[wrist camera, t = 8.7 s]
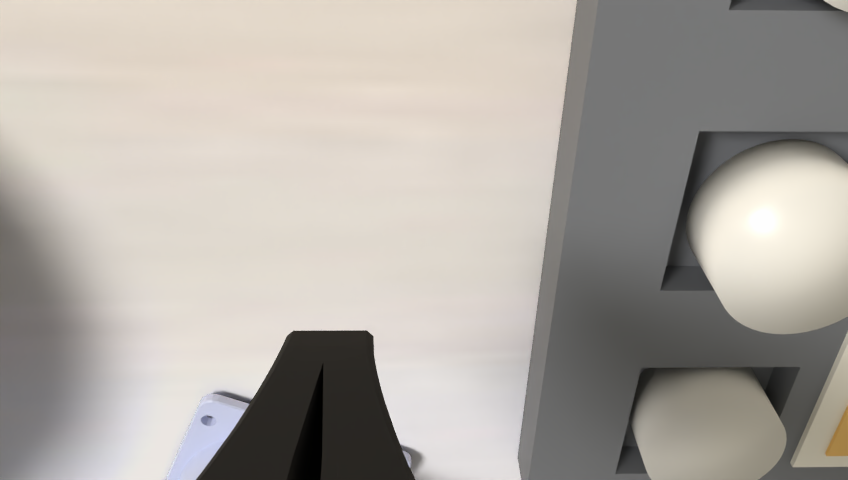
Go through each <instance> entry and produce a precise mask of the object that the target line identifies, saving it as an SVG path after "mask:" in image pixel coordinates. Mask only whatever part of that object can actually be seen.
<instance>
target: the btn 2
mask: <svg viewBox="0 0 848 480" xmlns="http://www.w3.org/2000/svg"><path fill="white" fill-rule="evenodd" d="M824 1H825V2H827V3H829V4H830V5H832V6H834V7H836V8H838V9H841V10H843V11H846V12H848V0H824Z"/></svg>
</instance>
